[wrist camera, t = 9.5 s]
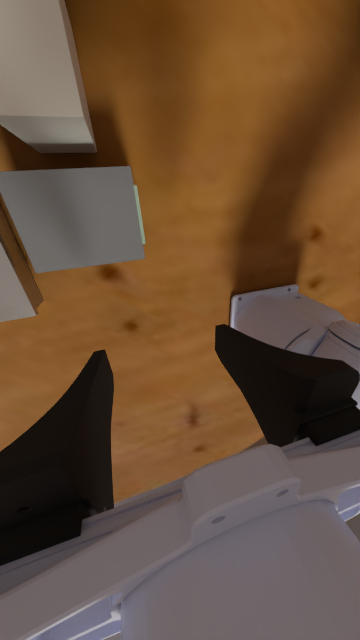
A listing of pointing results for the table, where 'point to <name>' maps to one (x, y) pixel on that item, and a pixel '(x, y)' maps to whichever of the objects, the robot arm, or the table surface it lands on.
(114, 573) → the robot arm
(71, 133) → the block
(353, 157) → the table surface
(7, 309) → the din rail
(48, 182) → the mounted modules
